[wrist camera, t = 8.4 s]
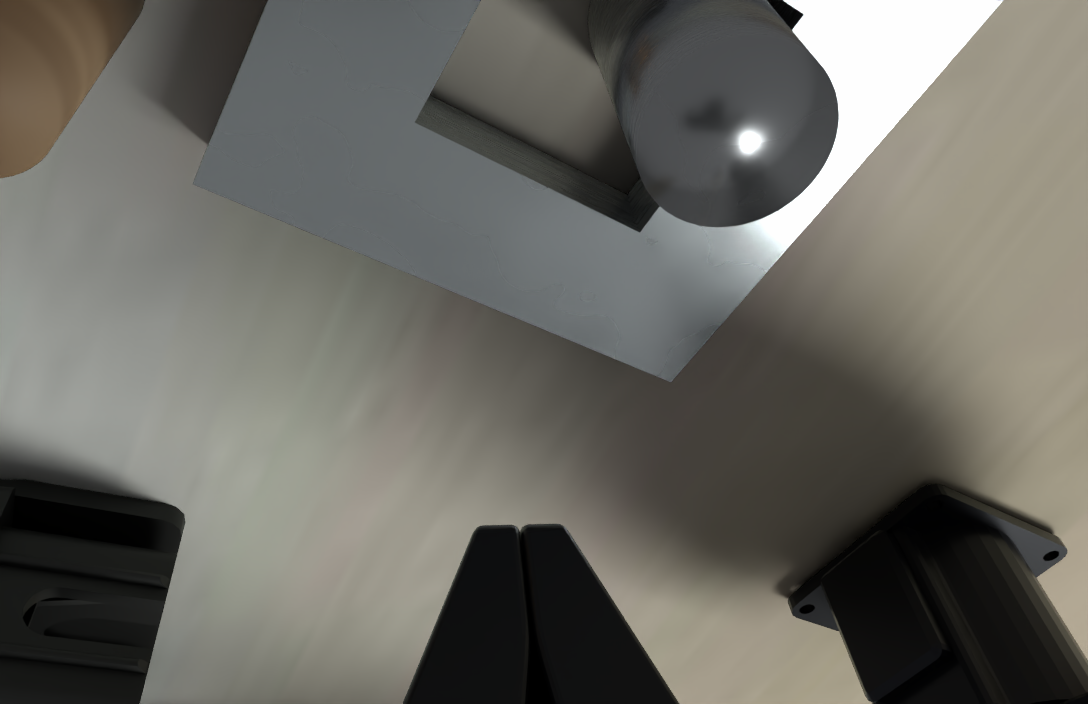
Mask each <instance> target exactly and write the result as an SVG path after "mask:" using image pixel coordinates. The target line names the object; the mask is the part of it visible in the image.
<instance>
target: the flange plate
mask: <svg viewBox="0 0 1088 704" xmlns="http://www.w3.org/2000/svg"><path fill="white" fill-rule="evenodd" d="M480 1H481V0H267V2H266V4H265V7H264V9H263V12H262V14H261V17H260V19H259V21H258V24H257V26H256V29H255V31H254V34H253V36H252V39H251V41H250V43H249V46H248V48H247V51H246V53H245V56H244V58H243V60H242V63H241V65H240V68H239V70H238V73H237V75H236V78H235V80H234V82H233V85H232V87H231V90H230V92H229V95H228V97H227V99H226V102H225V104H224V107H223V109H222V112H221V114H220V117H219V119H218V121H217V124H216V126H215V129H214V131H213V134H212V136H211V139H210V141H209V143H208V146H207V148H206V151H205V154H204V156H203V159H202V161H201V164H200V167H199V169H198V172H197V174H196V177H195V180H194V182H193V184H194V185H196V186H199V187H201V188H203V189H206V190H208V191H211V192H213V193H216V194H218V195H220V196H223V197H225V198H228V199H230V200H232V201H235V202H237V203H240V204H242V205H244V206H247V207H249V208H252V209H254V210H257V211H259V212H261V213H264V214H266V215H269V216H271V217H273V218H276V219H278V220H281V221H283V222H285V223H288V224H290V225H293V226H295V227H298V228H300V229H302V230H305V231H307V232H310V233H312V234H314V235H317V236H319V237H322V238H324V239H326V240H329V241H331V242H334V243H336V244H338V245H341V246H343V247H346V248H348V249H351V250H353V251H355V252H358V253H360V254H363V255H365V256H367V257H370V258H372V259H375V260H377V261H379V262H382V263H384V264H387V265H389V266H392V267H394V268H396V269H399V270H401V271H404V272H406V273H408V274H411V275H413V276H416V277H418V278H420V279H423V280H425V281H428V282H430V283H433V284H435V285H437V286H440V287H442V288H445V289H447V290H449V291H452V292H454V293H457V294H459V295H461V296H464V297H466V298H469V299H471V300H474V301H476V302H478V303H481V304H483V305H486V306H488V307H490V308H493V309H495V310H498V311H500V312H502V313H505V314H507V315H510V316H512V317H515V318H517V319H519V320H522V321H524V322H527V323H529V324H531V325H534V326H536V327H539V328H541V329H543V330H546V331H548V332H551V333H553V334H556V335H558V336H560V337H563V338H565V339H568V340H570V341H572V342H575V343H577V344H580V345H582V346H584V347H587V348H589V349H592V350H594V351H597V352H599V353H601V354H604V355H606V356H609V357H611V358H613V359H616V360H618V361H621V362H623V363H625V364H628V365H630V366H633V367H635V368H638V369H640V370H642V371H645V372H647V373H650V374H652V375H654V376H657V377H659V378H662V379H664V380H666V381H669V382H672V381H673V379H674V378H675V377H676V376H677V375H678V374H679V373H680V371H681V370H682V369H683V368H684V367H685V366H686V365H687V363H688V362H689V361H690V360H691V359H692V358H693V356H694V355H695V354H696V353H697V352H698V351H699V350H700V348H701V347H702V346H703V345H704V344H705V343H706V342H707V340H708V339H709V338H710V337H711V336H712V335H713V334H714V332H715V331H716V330H717V329H718V328H719V327H720V325H721V324H722V323H723V322H724V321H725V320H726V319H727V317H728V316H729V315H730V314H731V313H732V312H733V311H734V309H735V308H736V307H737V306H738V305H739V304H740V302H741V301H742V300H743V299H744V298H745V297H746V296H747V294H748V293H749V292H750V291H751V290H752V289H753V288H754V286H755V285H756V284H757V283H758V282H759V281H760V279H761V278H762V277H763V276H764V275H765V274H766V273H767V271H768V270H769V269H770V268H771V267H772V266H773V265H774V263H775V262H776V261H777V260H778V259H779V258H780V256H781V255H782V254H783V253H784V252H785V251H786V250H787V248H788V247H789V246H790V245H791V244H792V243H793V242H794V240H795V239H796V238H797V237H798V236H799V235H800V233H801V232H802V231H803V230H804V229H805V228H806V227H807V225H808V224H809V223H810V222H811V221H812V220H813V219H814V217H815V216H816V215H817V214H818V213H819V212H820V210H821V209H822V208H823V207H824V206H825V205H826V204H827V202H828V201H829V200H830V199H831V198H832V197H833V196H834V194H835V193H836V192H837V191H838V190H839V189H840V187H841V186H842V185H843V184H844V183H845V182H846V181H847V179H848V178H849V177H850V176H851V175H852V174H853V173H854V171H855V170H856V169H857V168H858V167H859V166H860V165H861V163H862V162H863V161H864V160H865V159H866V158H867V156H868V155H869V154H870V153H871V152H872V151H873V150H874V148H875V147H876V146H877V145H878V144H879V143H880V142H881V140H882V139H883V138H884V137H885V136H886V135H887V133H888V132H889V131H890V130H891V129H892V128H893V127H894V125H895V124H896V123H897V122H898V121H899V120H900V119H901V117H902V116H903V115H904V114H905V113H906V112H907V110H908V109H909V108H910V107H911V106H912V105H913V104H914V102H915V101H916V100H917V99H918V98H919V97H920V96H921V94H922V93H923V92H924V91H925V90H926V89H927V87H928V86H929V85H930V84H931V83H932V82H933V81H934V79H935V78H936V77H937V76H938V75H939V74H940V73H941V71H942V70H943V69H944V68H945V67H946V66H947V64H948V63H949V62H950V61H951V60H952V59H953V58H954V56H955V55H956V54H957V53H958V52H959V51H960V50H961V48H962V47H963V46H964V45H965V44H966V43H967V41H968V40H969V39H970V38H971V37H972V36H973V35H974V33H975V32H976V31H977V30H978V29H979V28H980V27H981V25H982V24H983V23H984V22H985V21H986V20H987V19H988V17H989V16H990V15H991V14H992V13H993V12H994V10H995V9H996V8H997V7H998V6H999V5H1000V4H1001V2H1002V1H1003V0H768V3H769V4H770V5H771V6H772V7H773V9H774V10H775V11H776V12H777V13H778V14H779V16H780V17H781V18H782V19H783V20H784V22H785V23H786V24H787V25H788V26H789V27H790V29H791V30H792V31H793V32H794V33H795V35H796V36H797V37H798V38H799V39H800V41H801V42H802V43H803V44H804V45H805V46H806V48H807V49H808V50H809V51H810V52H811V54H812V55H813V56H814V57H815V58H816V59H817V61H818V62H819V63H820V64H821V65H822V67H823V68H824V69H825V71H826V72H827V74H828V75H829V77H830V79H831V81H832V83H833V86H834V88H835V91H836V95H837V99H838V106H839V126H838V131H837V136H836V140H835V143H834V146H833V149H832V151H831V154H830V156H829V158H828V160H827V162H826V164H825V165H824V167H823V168H822V170H821V172H820V173H819V175H818V176H817V177H816V178H815V180H814V181H813V182H812V183H811V185H810V186H809V187H808V188H807V189H806V190H805V191H804V192H803V193H802V194H801V195H799V196H798V197H797V198H796V199H795V200H793V201H792V202H791V203H789V204H788V205H786V206H785V207H783V208H782V209H780V210H778V211H777V212H775V213H773V214H771V215H769V216H767V217H764V218H762V219H760V220H757V221H754V222H750V223H747V224H743V225H738V226H732V227H706V226H700V225H695V224H691V223H688V222H685V221H683V220H681V219H678V218H676V217H674V216H673V215H671V214H669V213H668V212H666V211H665V210H664V209H663V208H661V207H660V206H659V205H658V204H657V203H656V202H655V201H654V200H653V198H652V197H651V196H650V195H649V193H648V191H647V190H646V188H645V187H644V184H643V182H642V180H641V177H640V178H639V179H638V181H637V182H636V183H635V185H634V186H633V188H632V189H631V190H630V192H629V193H628V194H627V195H626V194H624V193H622V192H620V191H618V190H616V189H614V188H612V187H610V186H608V185H606V184H604V183H602V182H600V181H598V180H596V179H594V178H592V177H590V176H588V175H587V174H585V173H583V172H581V171H579V170H577V169H575V168H573V167H571V166H569V165H567V164H565V163H563V162H561V161H559V160H557V159H555V158H553V157H551V156H549V155H547V154H545V153H543V152H541V151H539V150H537V149H535V148H533V147H531V146H529V145H527V144H525V143H523V142H521V141H519V140H517V139H515V138H513V137H511V136H509V135H507V134H505V133H503V132H501V131H499V130H497V129H496V128H494V127H492V126H490V125H488V124H486V123H484V122H482V121H480V120H478V119H476V118H474V117H472V116H470V115H468V114H466V113H464V112H462V111H460V110H458V109H456V108H454V107H452V106H450V105H448V104H446V103H444V102H442V101H440V100H438V99H436V98H434V97H432V96H430V93H431V91H432V90H433V88H434V86H435V84H436V82H437V80H438V78H439V77H440V75H441V73H442V71H443V69H444V67H445V66H446V64H447V62H448V60H449V58H450V56H451V55H452V53H453V51H454V49H455V47H456V45H457V44H458V42H459V40H460V38H461V36H462V34H463V32H464V31H465V29H466V27H467V25H468V23H469V21H470V20H471V18H472V16H473V14H474V12H475V10H476V9H477V7H478V5H479V3H480Z"/></svg>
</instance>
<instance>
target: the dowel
mask: <svg viewBox="0 0 1088 704" xmlns="http://www.w3.org/2000/svg"><path fill="white" fill-rule="evenodd" d="M144 1H145V0H0V178H4V177H9V176H14V175H16V174H19V173H22V172H24V171H26V170H28V169H30V168H32V167H34V166H35V165H36V164H38V163H39V162H40V161H41V160H42V159H43V158H44V157H45V156H46V155H47V154H48V152H49V151H50V149H51V148H52V146H53V145H54V143H55V142H56V140H57V139H58V137H59V136H60V134H61V133H62V131H63V130H64V128H65V127H66V125H67V124H68V122H69V121H70V119H71V118H72V116H73V115H74V113H75V112H76V110H77V109H78V107H79V106H80V104H81V103H82V101H83V100H84V98H85V96H86V95H87V93H88V92H89V90H90V89H91V87H92V86H93V84H94V83H95V81H96V80H97V78H98V77H99V75H100V74H101V72H102V71H103V69H104V68H105V66H106V65H107V63H108V62H109V60H110V59H111V57H112V56H113V54H114V53H115V51H116V50H117V48H118V47H119V45H120V44H121V42H122V41H123V39H124V38H125V36H126V35H127V33H128V32H129V30H130V29H131V27H132V26H133V24H134V23H135V21H136V20H137V18H138V17H139V15H140V13H141V11H142V9H143V5H144Z"/></svg>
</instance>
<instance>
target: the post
mask: <svg viewBox="0 0 1088 704" xmlns="http://www.w3.org/2000/svg"><path fill="white" fill-rule="evenodd" d="M588 32H589V39H590V43H591V46H592V49H593V52H594V55H595V57H596V60H597V63H598V65H599V68H600V71H601V73H602V76H603V79H604V81H605V84H606V87H607V89H608V92H609V95H610V97H611V100H612V103H613V105H614V108H615V111H616V113H617V116H618V119H619V121H620V124H621V127H622V129H623V132H624V135H625V138H626V140H627V143H628V146H629V148H630V151H631V154H632V156H633V159H634V162H635V164H636V167H637V170H638V172H639V175H640V177H641V180H642V182H643V184H644V187H645V188H646V190H647V191H648V193H649V195H650V196H651V197H652V198H653V200H654V201H655V202H656V203H657V204H658V205H659V206H660V207H661V208H663V209H664V210H665V211H666V212H668V213H669V214H671V215H673V216H674V217H676V218H678V219H681V220H683V221H685V222H688V223H691V224H695V225H700V226H706V227H732V226H738V225H743V224H747V223H750V222H754V221H757V220H760V219H762V218H764V217H767V216H769V215H771V214H773V213H775V212H777V211H778V210H780V209H782V208H783V207H785V206H786V205H788V204H789V203H791V202H792V201H793V200H795V199H796V198H797V197H798V196H799V195H801V194H802V193H803V192H804V191H805V190H806V189H807V188H808V187H809V186H810V185H811V183H812V182H813V181H814V180H815V178H816V177H817V176H818V175H819V173H820V172H821V170H822V168H823V167H824V165H825V164H826V162H827V160H828V158H829V156H830V154H831V151H832V149H833V146H834V143H835V140H836V136H837V131H838V126H839V106H838V99H837V95H836V91H835V88H834V86H833V83H832V81H831V79H830V77H829V75H828V74H827V72H826V71H825V69H824V68H823V67H822V65H821V64H820V63H819V62H818V61H817V59H816V58H815V57H814V56H813V55H812V54H811V52H810V51H809V50H808V49H807V48H806V46H805V45H804V44H803V43H802V42H801V41H800V39H799V38H798V37H797V36H796V35H795V33H794V32H793V31H792V30H791V29H790V27H789V26H788V25H787V24H786V23H785V22H784V20H783V19H782V18H781V17H780V16H779V14H778V13H777V12H776V11H775V10H774V9H773V7H772V6H771V5H770V4H769V3H768V1H767V0H591V2H590V6H589V13H588Z"/></svg>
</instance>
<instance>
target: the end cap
mask: <svg viewBox="0 0 1088 704" xmlns="http://www.w3.org/2000/svg"><path fill="white" fill-rule="evenodd" d="M184 525H185V518H184V514H183V513H182V512H181V511H180V510H179V509H178V508H176V507H174V506H171V505H168V504H165V503H159V502H154V501H148V500H142V499H136V498H130V497H125V496H119V495H113V494H107V493H101V492H96V491H90V490H84V489H78V488H72V487H66V486H61V485H55V484H49V483H43V482H37V481H32V480H0V704H139V703H140V699H141V696H142V692H143V688H144V684H145V680H146V676H147V672H148V668H149V664H150V660H151V656H152V652H153V648H154V644H155V640H156V636H157V632H158V628H159V624H160V620H161V616H162V612H163V608H164V604H165V601H166V597H167V593H168V589H169V585H170V581H171V577H172V573H173V569H174V565H175V561H176V557H177V553H178V549H179V545H180V541H181V537H182V533H183V529H184Z"/></svg>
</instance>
